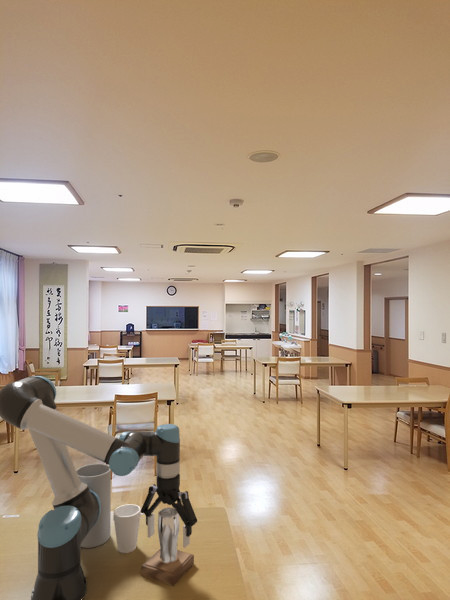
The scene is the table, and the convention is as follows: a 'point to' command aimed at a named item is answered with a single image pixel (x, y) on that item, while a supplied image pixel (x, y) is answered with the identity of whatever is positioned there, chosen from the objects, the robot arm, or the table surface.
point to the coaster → (168, 568)
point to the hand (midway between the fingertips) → (168, 540)
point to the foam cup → (127, 527)
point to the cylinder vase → (101, 485)
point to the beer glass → (168, 535)
